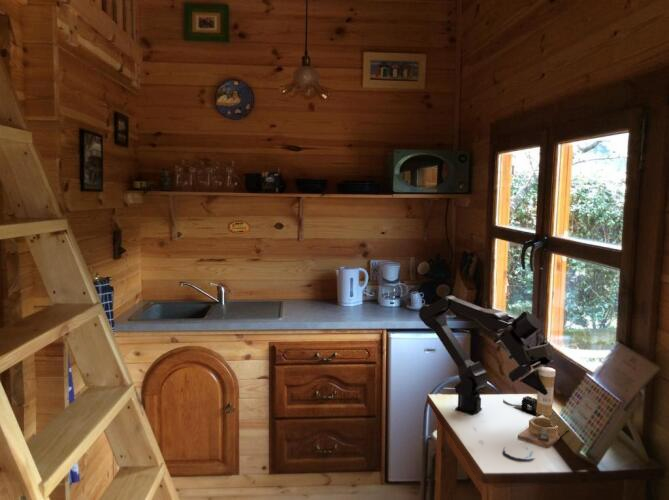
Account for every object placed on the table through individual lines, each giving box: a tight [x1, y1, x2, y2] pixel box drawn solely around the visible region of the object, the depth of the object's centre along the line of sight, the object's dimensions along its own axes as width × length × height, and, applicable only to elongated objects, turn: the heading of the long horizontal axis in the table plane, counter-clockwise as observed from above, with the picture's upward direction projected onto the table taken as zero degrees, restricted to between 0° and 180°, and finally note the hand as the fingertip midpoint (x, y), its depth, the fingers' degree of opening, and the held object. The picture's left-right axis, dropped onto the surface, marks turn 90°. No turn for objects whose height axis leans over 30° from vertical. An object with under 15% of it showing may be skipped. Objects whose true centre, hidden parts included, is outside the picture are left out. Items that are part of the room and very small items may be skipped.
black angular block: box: [512, 395, 542, 417], centre depth 183 cm, size 12×7×5 cm, turn 35°
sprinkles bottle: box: [536, 366, 556, 417], centre depth 163 cm, size 5×5×14 cm
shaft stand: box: [517, 416, 560, 449], centre depth 165 cm, size 9×16×4 cm, turn 138°
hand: (550, 392), depth 163 cm, fingers closed on sprinkles bottle, 4 cm apart
